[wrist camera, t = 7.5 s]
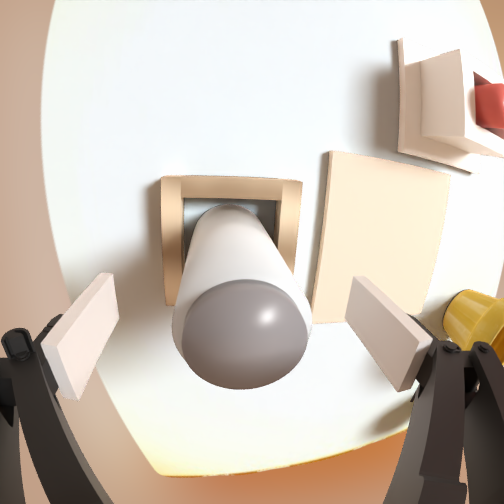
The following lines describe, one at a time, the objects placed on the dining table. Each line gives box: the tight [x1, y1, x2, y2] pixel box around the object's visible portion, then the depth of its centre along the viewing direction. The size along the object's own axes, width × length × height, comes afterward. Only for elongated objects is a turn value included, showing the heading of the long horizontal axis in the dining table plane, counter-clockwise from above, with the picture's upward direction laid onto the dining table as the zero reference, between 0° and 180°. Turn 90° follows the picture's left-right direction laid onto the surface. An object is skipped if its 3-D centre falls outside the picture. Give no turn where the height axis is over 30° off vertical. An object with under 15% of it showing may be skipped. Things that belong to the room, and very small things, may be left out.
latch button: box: [474, 83, 504, 129], centre depth 15 cm, size 4×4×5 cm
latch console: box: [397, 38, 504, 174], centre depth 18 cm, size 12×12×7 cm
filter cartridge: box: [172, 204, 312, 389], centre depth 17 cm, size 6×6×14 cm
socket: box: [161, 175, 303, 306], centre depth 23 cm, size 10×10×2 cm
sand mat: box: [311, 151, 451, 324], centre depth 25 cm, size 16×14×1 cm
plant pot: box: [443, 289, 504, 365], centre depth 26 cm, size 10×10×10 cm
